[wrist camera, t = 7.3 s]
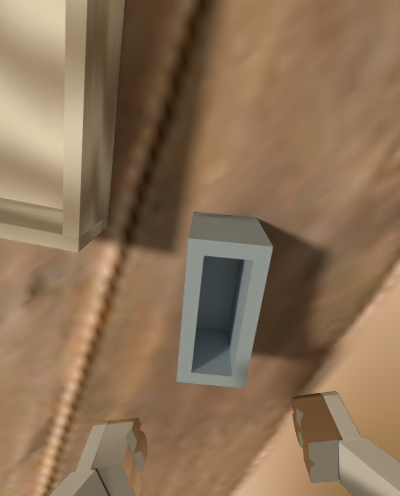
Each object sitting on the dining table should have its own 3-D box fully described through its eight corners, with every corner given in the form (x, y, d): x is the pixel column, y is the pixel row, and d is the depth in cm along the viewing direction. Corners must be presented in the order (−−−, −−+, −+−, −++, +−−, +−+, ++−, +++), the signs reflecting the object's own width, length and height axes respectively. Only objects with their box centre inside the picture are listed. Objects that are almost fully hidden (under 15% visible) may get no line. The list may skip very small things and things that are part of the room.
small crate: (236, 333, 21) (244, 388, 17) (183, 328, 21) (176, 381, 17) (256, 218, 18) (273, 246, 13) (194, 211, 18) (188, 238, 13)
